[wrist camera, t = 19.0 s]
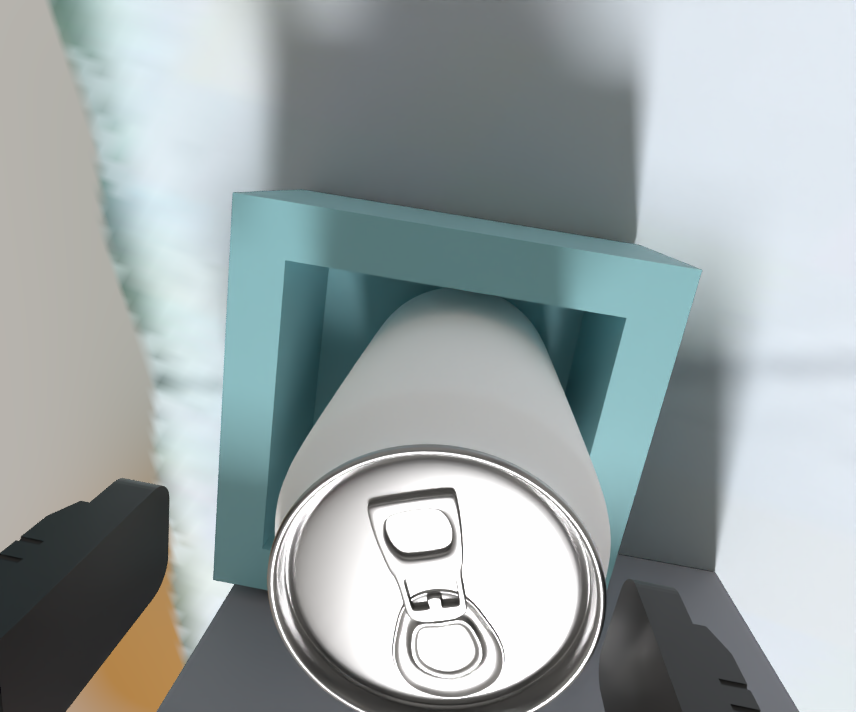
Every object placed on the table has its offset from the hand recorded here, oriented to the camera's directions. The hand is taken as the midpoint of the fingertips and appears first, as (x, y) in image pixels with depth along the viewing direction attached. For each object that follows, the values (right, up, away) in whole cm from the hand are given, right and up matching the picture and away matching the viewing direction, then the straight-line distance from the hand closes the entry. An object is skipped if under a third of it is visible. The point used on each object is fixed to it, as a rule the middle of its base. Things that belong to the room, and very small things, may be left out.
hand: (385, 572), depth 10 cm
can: (+2, +3, +11) cm, 12 cm away
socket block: (+1, +3, +12) cm, 13 cm away
